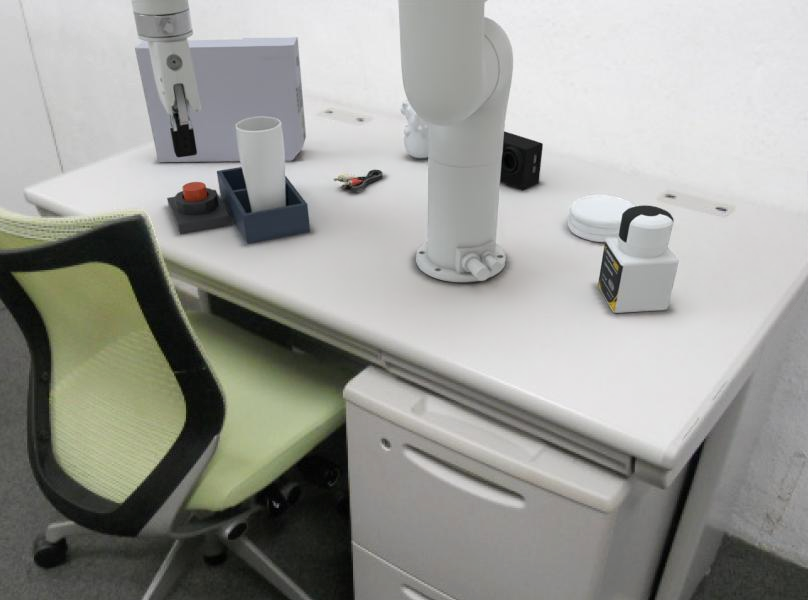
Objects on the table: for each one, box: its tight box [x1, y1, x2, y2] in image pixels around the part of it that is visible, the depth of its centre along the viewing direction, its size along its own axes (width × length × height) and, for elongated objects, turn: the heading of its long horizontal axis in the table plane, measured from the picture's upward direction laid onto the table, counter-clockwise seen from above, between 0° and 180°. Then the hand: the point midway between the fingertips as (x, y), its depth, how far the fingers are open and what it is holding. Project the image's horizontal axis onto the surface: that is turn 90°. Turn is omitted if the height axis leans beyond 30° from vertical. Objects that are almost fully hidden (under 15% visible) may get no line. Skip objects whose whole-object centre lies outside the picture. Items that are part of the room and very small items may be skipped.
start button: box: [181, 181, 207, 201], centre depth 122 cm, size 4×4×2 cm
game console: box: [134, 36, 307, 163], centre depth 139 cm, size 6×27×20 cm, turn 88°
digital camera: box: [500, 130, 544, 191], centre depth 131 cm, size 10×5×7 cm, turn 42°
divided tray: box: [216, 166, 311, 245], centre depth 123 cm, size 19×10×5 cm, turn 21°
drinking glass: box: [235, 116, 286, 212], centre depth 116 cm, size 7×7×15 cm
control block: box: [166, 187, 232, 235], centre depth 124 cm, size 11×8×4 cm
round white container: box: [567, 194, 636, 243], centre depth 116 cm, size 10×10×4 cm
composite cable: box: [333, 169, 383, 193], centre depth 132 cm, size 10×5×2 cm, turn 130°
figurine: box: [399, 99, 430, 159], centre depth 139 cm, size 7×7×12 cm
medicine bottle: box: [597, 204, 679, 314], centre depth 98 cm, size 7×7×12 cm
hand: (186, 154), depth 119 cm, fingers closed
